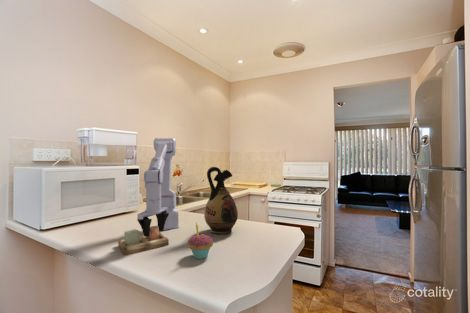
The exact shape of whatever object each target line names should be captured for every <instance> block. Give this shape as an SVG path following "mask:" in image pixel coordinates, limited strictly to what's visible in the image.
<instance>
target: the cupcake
mask: <svg viewBox="0 0 470 313" xmlns="http://www.w3.org/2000/svg"><path fill="white" fill-rule="evenodd" d="M195 230H196V235H194V236H192V237H190V239H188V242H187V246H188V248H189V249H190V250H191V252H192V255H193V258H195V259H198V260H202V259H206V258H207V257H208V256H209V252H210V249H211V248H212V247H213V246H214V245H213V244H214V242H213V238H212V237H211V236H209V235H207V234H205V233H204V234H200V233H199V225H198V222H195Z"/></svg>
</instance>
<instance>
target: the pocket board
mask: <svg viewBox="0 0 470 313" xmlns="http://www.w3.org/2000/svg"><path fill="white" fill-rule="evenodd" d="M169 240H170V239H169V238H168V237H166V236H165V235H164V234H163V233H161V231H159V239H157V240H152V241H148V237H146V236H144V234H143V235H140V243H138V244H133V245H129V246H126V245H125V244H124V238H122V239H118V240H117V241H118V242H117V244H118V248H119V249H120V251H121V253H122V254H123V256H127V255H131V254H134V253H135V254H136V253H140V252H143V251H148V250H152V248H153V249H156V248H160V247H164V246H165V245H166V246H168V245H169V242H170V241H169Z"/></svg>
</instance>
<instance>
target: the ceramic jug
mask: <svg viewBox="0 0 470 313" xmlns="http://www.w3.org/2000/svg"><path fill="white" fill-rule="evenodd" d="M213 172H217V174H216V175H215V177H214V179H213V178H212V173H213ZM231 177H233V174H232V173H231V172H230V171H229V170H227V169H224V170H221V169H220V168H219V167H216V166H211V167H210V168H208V170H207V172H206V178H207V180H208V183H209V184H208V185H209V187H210V196H209V198H208V200H207V202H206V204H205V208H204V214H203V215H204V216H203V217H204V221H205V223H206V224H207V226H208V228H210V231H211V232H210V233H214V234H219V235H222V234H223V235H224V234H226V235H227V234H231V232H232V229H233V227H234V226H235V224H237V221H238V215H239V212H238V207H237V203H236V202H235V200H234V198H233V196H232V195H231V194H230V192H229V191H228V189H227V188H226V186H225V181H226V180H227V179H230V178H231ZM213 181H215V182H216V185H214V182H213Z"/></svg>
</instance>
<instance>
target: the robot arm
mask: <svg viewBox="0 0 470 313" xmlns="http://www.w3.org/2000/svg"><path fill="white" fill-rule="evenodd" d="M153 150H154V151H155V155H154V157H152V158H151V160H150V163H149V166H148V169H146V170H145V171H144V173H143V182H144V188H145V205H146V206H145V209H144V211H142V212H139V213H137V219H136V220H137V222H138V224H139V225H140V228H141V230H142V234H143V235H144V236H146V237H148V236H149V234H150V227H151V224H152V221H153V219H152V218H149V217H152V216H156V221H157V222H156V223H157V226H158V227H159V232H163V231H167V230H172V229H178V228H180V226H179V210H178V209H177V194H176V192H175V191H174V190H172V189H171V183H172V182H171V181H172V179H171V178H172V160H173V157H175V156H176V154H177V141H176V138H174V137H172V138H171V137H168V138H167V137H166V138H163V137H161V138H160V137H159V138H158V137H155V138H154V140H153Z"/></svg>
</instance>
